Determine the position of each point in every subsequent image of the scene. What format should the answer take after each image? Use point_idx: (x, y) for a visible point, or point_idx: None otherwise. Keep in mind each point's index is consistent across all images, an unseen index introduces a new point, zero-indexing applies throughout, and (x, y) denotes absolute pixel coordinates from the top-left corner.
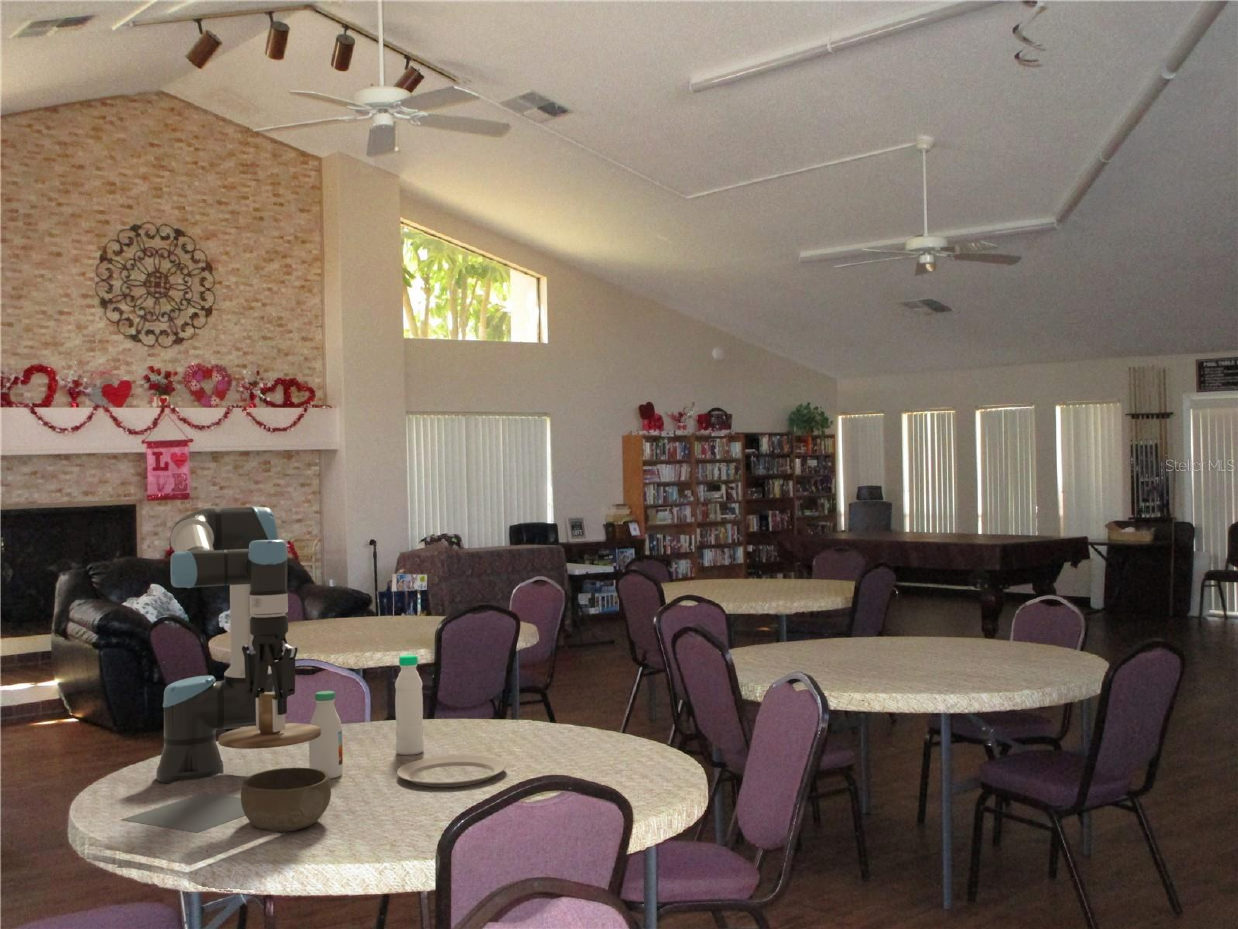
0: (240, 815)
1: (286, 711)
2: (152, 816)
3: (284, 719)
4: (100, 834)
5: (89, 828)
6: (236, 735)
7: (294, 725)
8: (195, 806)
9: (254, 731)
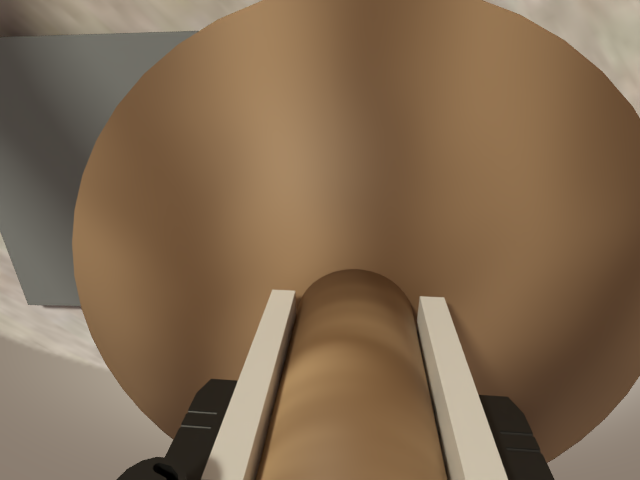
0: None
1: (523, 418)
2: (59, 265)
3: (457, 345)
4: (71, 351)
5: (12, 334)
6: None
7: (327, 79)
8: (58, 164)
9: (230, 315)
